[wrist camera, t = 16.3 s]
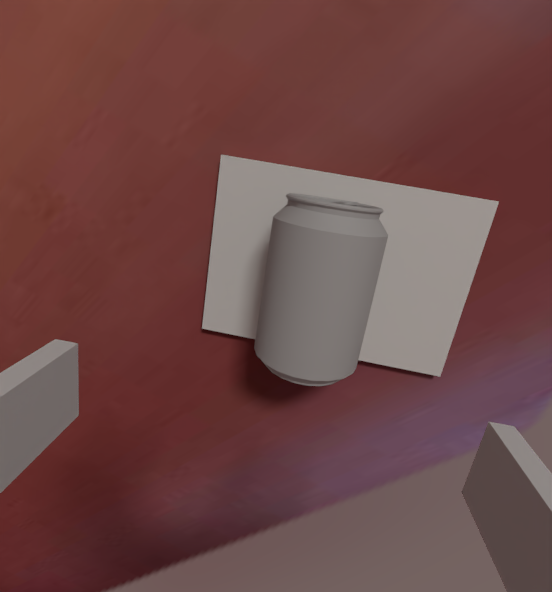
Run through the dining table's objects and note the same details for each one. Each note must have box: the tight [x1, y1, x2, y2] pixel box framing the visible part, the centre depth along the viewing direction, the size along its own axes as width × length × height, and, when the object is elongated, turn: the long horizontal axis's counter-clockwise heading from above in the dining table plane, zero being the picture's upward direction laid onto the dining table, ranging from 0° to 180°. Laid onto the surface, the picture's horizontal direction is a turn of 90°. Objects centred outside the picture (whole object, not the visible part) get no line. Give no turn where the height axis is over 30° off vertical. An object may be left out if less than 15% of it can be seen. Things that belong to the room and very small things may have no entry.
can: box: [254, 193, 388, 386], centre depth 26 cm, size 8×8×12 cm
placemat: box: [202, 155, 499, 377], centre depth 30 cm, size 20×14×1 cm
